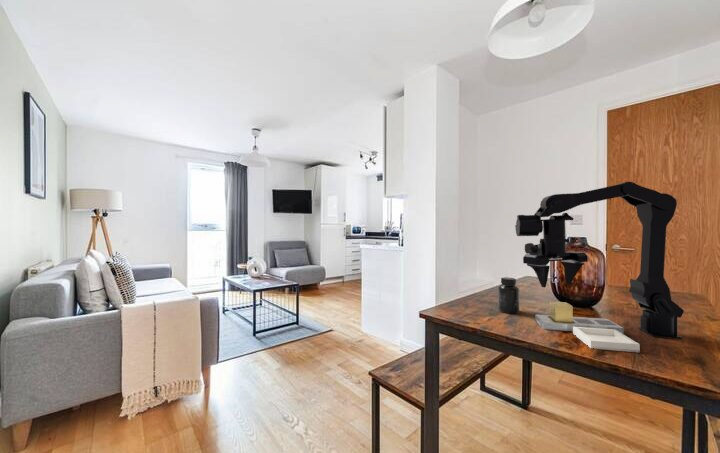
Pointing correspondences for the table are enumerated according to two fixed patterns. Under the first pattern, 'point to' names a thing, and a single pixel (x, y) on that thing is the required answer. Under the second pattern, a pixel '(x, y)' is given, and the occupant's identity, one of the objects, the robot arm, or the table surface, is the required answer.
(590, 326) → the grey flat plate
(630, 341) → the tray
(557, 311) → the wood grain block
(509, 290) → the supplement bottle
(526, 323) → the table surface
